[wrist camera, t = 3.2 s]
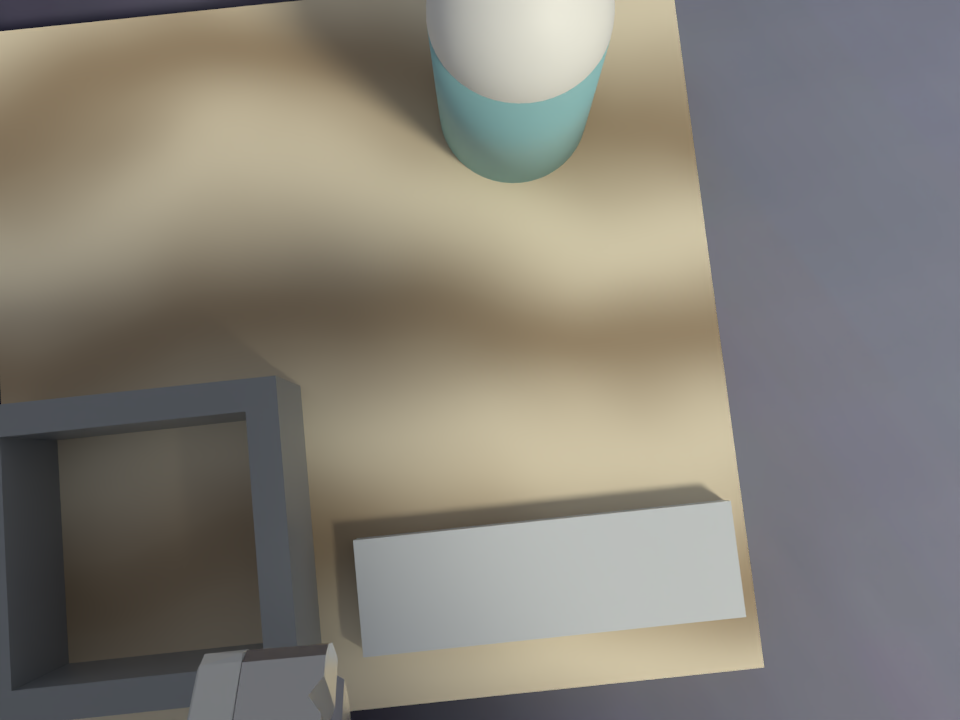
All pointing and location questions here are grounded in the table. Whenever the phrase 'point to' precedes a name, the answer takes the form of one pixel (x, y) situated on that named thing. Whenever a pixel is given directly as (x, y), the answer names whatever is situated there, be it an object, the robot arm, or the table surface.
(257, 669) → the robot arm
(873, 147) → the table surface
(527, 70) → the capsule
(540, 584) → the plank
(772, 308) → the table surface
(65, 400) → the frame
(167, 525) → the board
